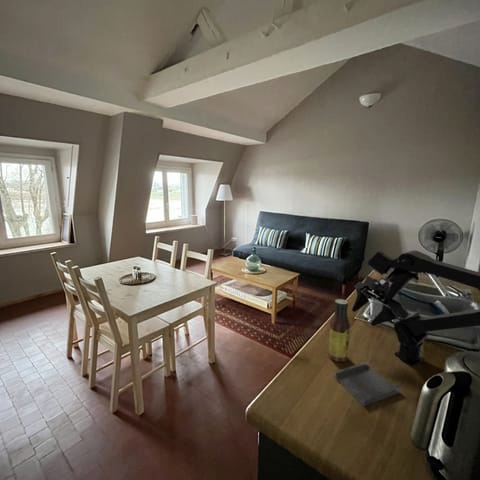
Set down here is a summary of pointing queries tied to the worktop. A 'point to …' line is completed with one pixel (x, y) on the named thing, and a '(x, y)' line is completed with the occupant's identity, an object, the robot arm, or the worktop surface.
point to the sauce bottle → (339, 332)
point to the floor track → (365, 383)
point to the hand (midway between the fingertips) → (361, 317)
